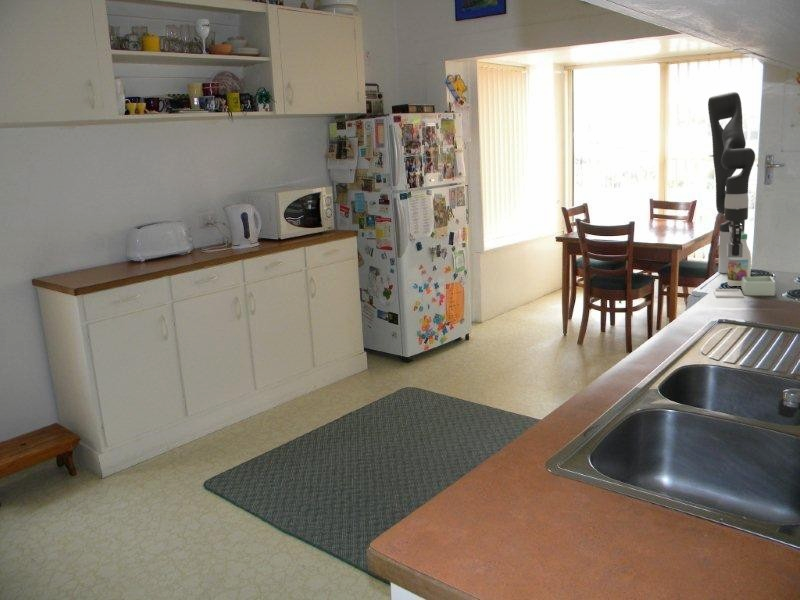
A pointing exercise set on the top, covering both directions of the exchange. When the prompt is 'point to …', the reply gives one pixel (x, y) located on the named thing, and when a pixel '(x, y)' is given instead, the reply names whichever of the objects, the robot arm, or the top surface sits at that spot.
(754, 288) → the green bin
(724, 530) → the top surface
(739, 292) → the white tray
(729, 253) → the gray cube
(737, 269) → the milk bottle
